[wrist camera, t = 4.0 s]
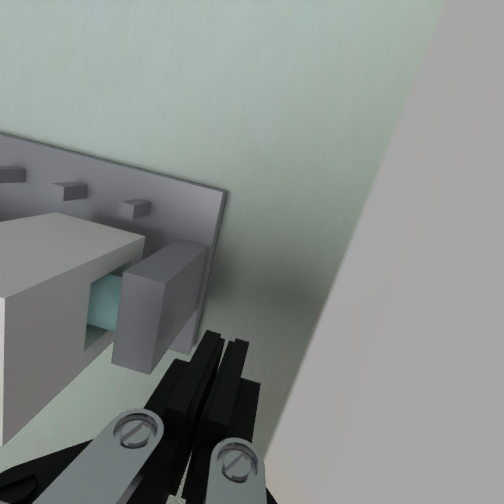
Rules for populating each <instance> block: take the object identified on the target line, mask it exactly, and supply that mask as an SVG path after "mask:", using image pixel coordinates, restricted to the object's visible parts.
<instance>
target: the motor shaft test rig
mask: <svg viewBox="0 0 504 504" xmlns="http://www.w3.org/2000/svg"><path fill="white" fill-rule="evenodd" d="M226 194H227V191H225V190H221V189H217V188H214V187H210V186H206V185H202V184H198V183H194V182H190V181H186V180H182V179H179V178H175V177H171V176H167V175H163V174H159V173H155V172H151V171H147V170H144V169H140V168H136V167H132V166H128V165H124V164H120V163H116V162H112V161H109V160H105V159H101V158H97V157H93V156H89V155H85V154H81V153H77V152H74V151H70V150H66V149H62V148H58V147H54V146H50V145H46V144H42V143H39V142H35V141H31V140H27V139H23V138H19V137H15V136H11V135H7V134H4V133H0V222H3V221H9V220H14V219H20V218H26V217H32V216H37V215H43V214H49V213H55V212H57V213H61V214H65V215H68V216H72V217H76V218H80V219H83V220H87V221H91V222H94V223H98V224H102V225H105V226H109V227H113V228H117V229H120V230H124V231H128V232H131V233H135V234H139V235H142V236H145V242H144V249H143V256H142V261H140V262H139V263H137V264H135V265H134V266H132V267H130V268H129V269H127V270H125V271H124V272H123V276H122V277H119V276H116V275H112V274H106V275H104V276H102V277H101V278H99V279H97V280H95V281H93V282H92V283H91V285H90V295H89V305H88V315H87V324H89V325H93V326H96V327H100V328H103V329H107V330H110V331H113V332H115V338H114V346H113V353H112V361H111V363H112V364H115V365H119V366H122V367H125V368H129V369H132V370H136V371H139V372H142V373H146V374H149V375H150V374H151V372H152V371H153V370H154V368H155V367H156V365H157V364H158V362H159V361H160V360H161V358H162V357H163V355H164V354H165V352H166V351H167V350H168V349H170V350H174V351H177V352H181V353H184V354H187V355H189V354H190V352H191V350H192V348H193V346H194V344H195V339H196V335H197V330H198V325H199V321H200V316H201V311H202V306H203V302H204V297H205V292H206V288H207V283H208V278H209V274H210V269H211V264H212V260H213V255H214V250H215V246H216V241H217V236H218V232H219V227H220V222H221V218H222V213H223V208H224V204H225V199H226Z"/></svg>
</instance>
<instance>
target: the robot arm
mask: <svg viewBox="0 0 504 504" xmlns="http://www.w3.org/2000/svg"><path fill="white" fill-rule="evenodd" d="M220 337H221V334H219V333H216V332H212V331H209V330H207V331H206V332H205V334H204V336H203V338H202V340H201V342H200V344H199V345H198V347H197V349H196V351H195V353H194V355H193V357H192V358H191V360H190V362H186V361H183V360H179V359H174V361H173V362H172V364H171V365H170V367H169V368H168V370H167V372H166V373H165V375H164V376H163V378H162V380H161V381H160V383H159V384H158V386H157V388H156V389H155V391H154V392H153V394H152V396H151V397H150V399H149V400H148V402H147V403H146V405H145V407H144V408H143V409H132V410H127V411H125V412H123V413H121V414H119V415H118V416H117V417H115V418H114V419H113V420H112V421H111V422H110V423H109V424H108V425H107V426H106V427H105V428H104V429H103V430H102V431H101V432H100V434H99V435H98V436H97V437H96V438H95V439H92V440H89V441H86V442H84V443H81V444H78V445H75V446H72V447H69V448H66V449H63V450H60V451H57V452H55V453H52V454H49V455H46V456H43V457H40V458H37V459H34V460H31V461H28V462H26V463H23V464H20V465H17V466H14V467H12V468H10V469H8V470H5V471H3V472H2V473H0V504H166V502H167V499H168V496H169V494H170V495H173V496H176V494H177V492H178V489H179V486H180V483H181V480H182V478H183V475H184V472H185V469H186V467H187V464H188V461H189V458H190V455H191V453H192V455H191V459H190V463H189V467H188V471H187V475H186V479H185V484H184V488H183V492H182V496H181V498H183V499H186V503H185V504H277V502H276V501H275V499H274V498H273V496H272V495H271V493H270V492H269V491H268V489H267V488H266V482H265V466H264V461H263V457H262V456H261V454H260V452H259V450H258V449H257V448H256V447H255V446H254V445H253V444H252V437H253V430H254V424H255V417H256V410H257V404H258V397H259V391H260V383H257V382H254V381H250V380H247V379H244V378H241V374H242V370H243V366H244V362H245V358H246V354H247V350H248V346H249V342H247V341H244V340H240V339H237V338H236V339H235V342H233V341H229V342H228V345H227V348H226V350H225V353H224V356H223V359H222V361H221V364H220V367H219V362H220V358H221V354H222V350H223V346H224V342H225V339H222V338H220ZM218 367H219V369H218ZM217 371H218V372H217Z"/></svg>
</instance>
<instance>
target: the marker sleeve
mask: <svg viewBox="0 0 504 504" xmlns="http://www.w3.org/2000/svg"><path fill="white" fill-rule="evenodd" d="M144 242H145V236H142V235H139V234H135V233H131V232H128V231H124V230H120V229H117V228H113V227H109V226H105V225H102V224H98V223H94V222H91V221H87V220H83V219H80V218H76V217H72V216H68V215H65V214H61V213H57V212H55V213H49V214H43V215H37V216H32V217H26V218H20V219H14V220H9V221H3V222H0V446H1V447H3V446H4V445H5V444H6V443H7V442H8V441H9V440H10V439H11V438H12V437H13V436H14V435H16V434H17V433H18V432H19V431H20V430H21V429H22V428H23V427H24V426H25V425H26V424H27V423H28V422H29V421H30V420H31V419H32V418H33V417H34V416H35V415H37V414H38V413H39V412H40V411H41V410H42V409H43V408H44V407H45V406H46V405H47V404H48V403H49V402H50V401H51V400H52V399H53V398H54V397H55V396H57V395H58V394H59V393H60V392H61V391H62V390H63V389H64V388H65V387H66V386H67V385H68V384H69V383H70V382H71V381H72V380H73V379H74V378H75V377H77V376H78V375H79V374H80V373H81V372H82V371H83V370H84V369H85V368H86V367H87V366H88V365H89V364H90V363H91V362H92V361H93V360H94V359H95V358H97V357H98V356H99V355H100V354H101V353H102V352H103V351H104V350H105V349H106V348H107V347H108V346H109V345H110V344H111V343H112V342H113V341H114V338H115V332H113V331H110V330H107V329H103V328H100V327H96V326H93V325H89V324H87V315H88V305H89V295H90V285H91V283H92V282H93V281H95V280H97V279H99V278H101V277H102V276H104V275H106V274H112V275H116V276H119V277H122V276H123V272H124V271H125V270H127V269H129V268H130V267H132V266H134V265H135V264H137V263H139V262H140V261H142V256H143V249H144Z"/></svg>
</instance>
